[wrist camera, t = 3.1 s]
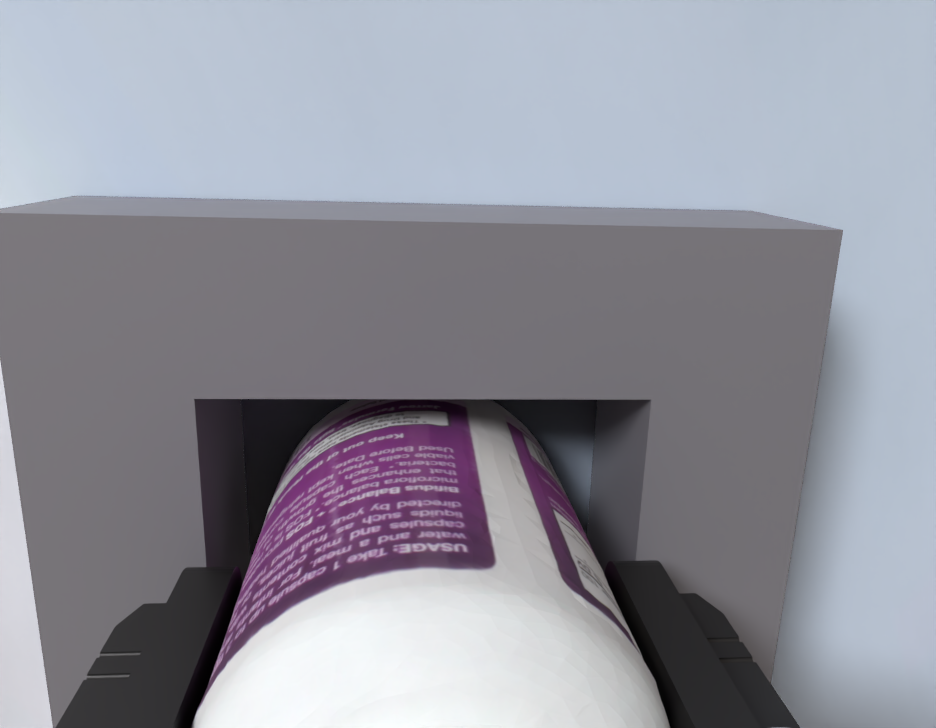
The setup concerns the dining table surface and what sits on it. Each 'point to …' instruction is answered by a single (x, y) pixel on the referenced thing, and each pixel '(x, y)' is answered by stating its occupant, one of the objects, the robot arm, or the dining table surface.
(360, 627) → the pill bottle
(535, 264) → the grey square frame
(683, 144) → the dining table surface
